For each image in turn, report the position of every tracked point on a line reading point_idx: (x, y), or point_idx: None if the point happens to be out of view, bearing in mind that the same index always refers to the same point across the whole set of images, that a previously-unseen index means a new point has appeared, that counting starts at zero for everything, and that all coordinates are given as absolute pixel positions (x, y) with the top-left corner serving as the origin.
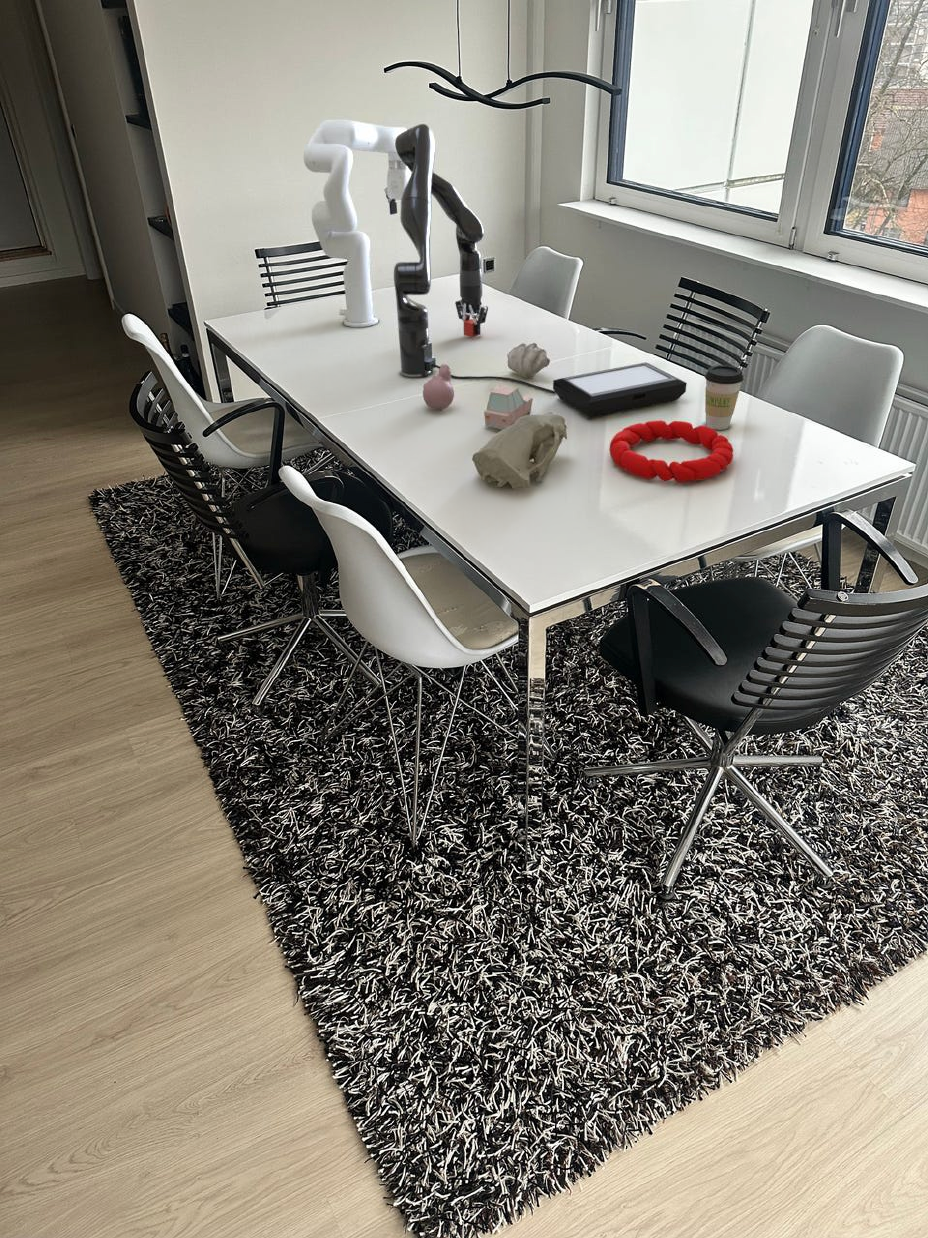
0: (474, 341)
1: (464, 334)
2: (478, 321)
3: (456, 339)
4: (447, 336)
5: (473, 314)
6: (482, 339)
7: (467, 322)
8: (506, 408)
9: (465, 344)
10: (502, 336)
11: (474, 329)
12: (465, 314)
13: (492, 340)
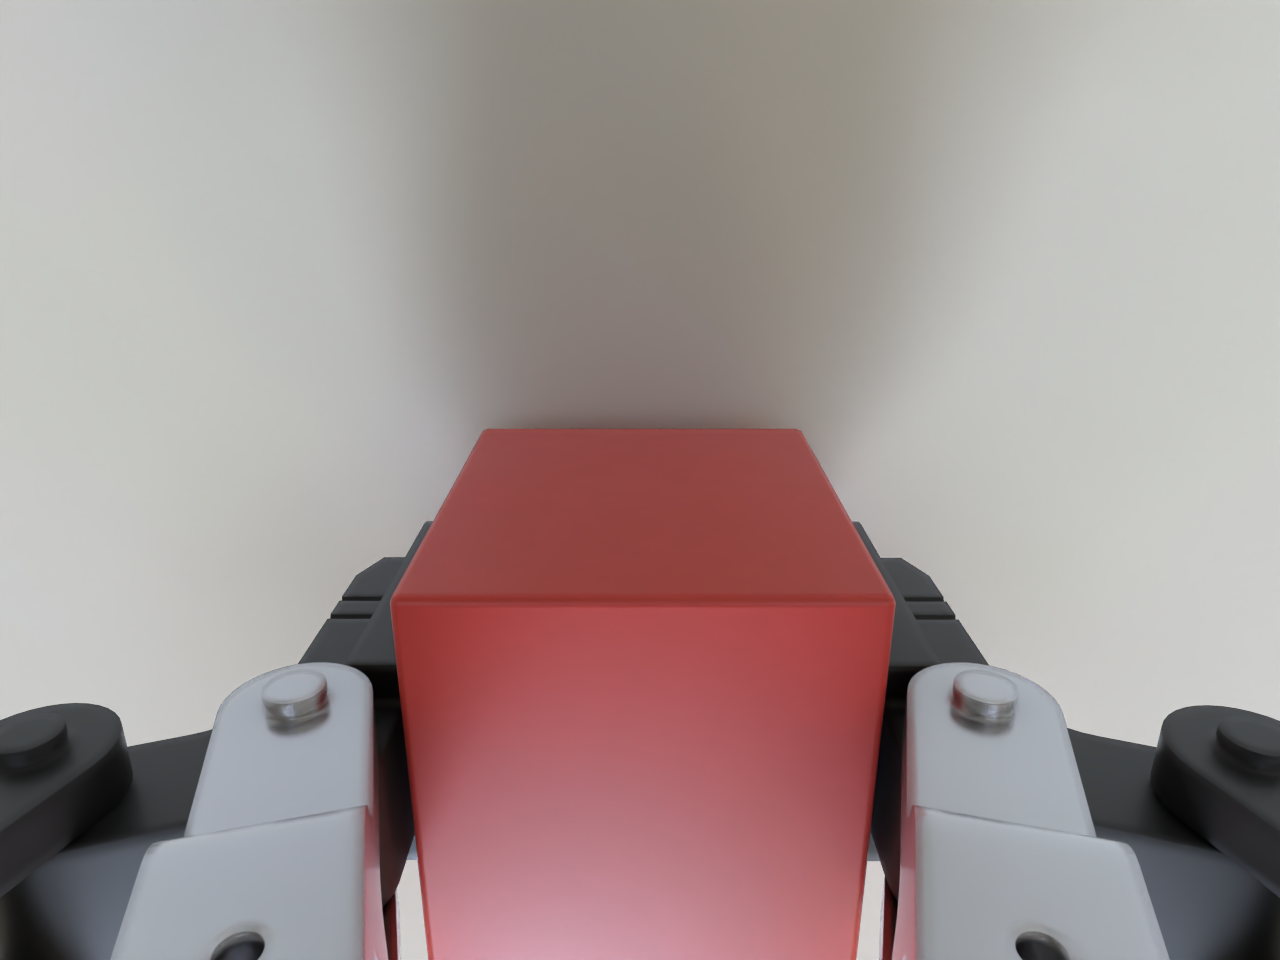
0: (370, 364)
1: (771, 429)
2: (38, 761)
3: (854, 181)
4: (1230, 213)
5: (119, 955)
6: None
7: (658, 602)
8: None
9: (340, 8)
10: None
11: None
12: (905, 874)
13: (140, 666)
